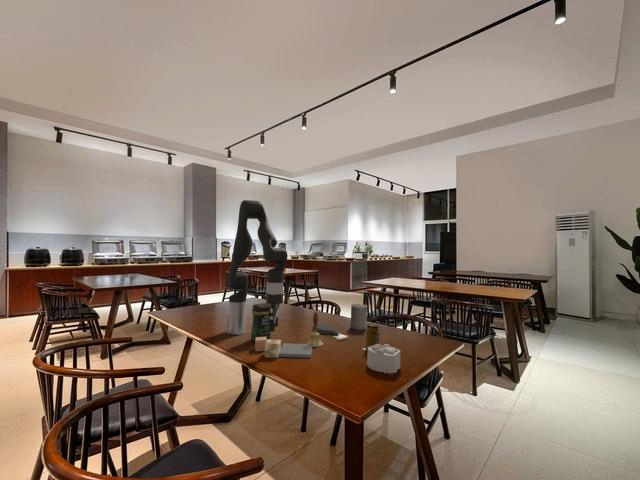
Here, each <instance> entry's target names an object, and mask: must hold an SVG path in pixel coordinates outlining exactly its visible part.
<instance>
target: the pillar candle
mask: <svg viewBox="0 0 640 480" xmlns="http://www.w3.org/2000/svg"><path fill="white" fill-rule="evenodd" d="M350 309H351V310H350V326H349V327H350V329H351V330H354V329H355V330H356V331H364V330H365V331H366V329H367V326H368V324H367V323H368V321H367V320H368V319H367V317H368V316H367V315H368V305H366V304H363V303H354V304H351V308H350ZM355 330H354V331H355Z"/></svg>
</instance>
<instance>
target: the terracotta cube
mask: <svg viewBox="0 0 640 480" xmlns="http://www.w3.org/2000/svg"><path fill="white" fill-rule="evenodd" d="M266 342H267V338H266V337H256V338H255V341H254V343H255V345H254V350H255V352H265V343H266Z"/></svg>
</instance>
